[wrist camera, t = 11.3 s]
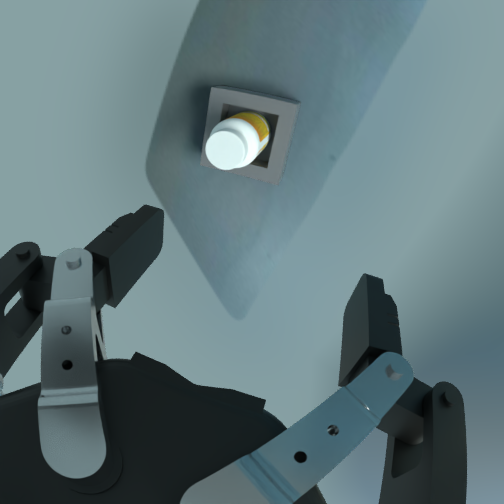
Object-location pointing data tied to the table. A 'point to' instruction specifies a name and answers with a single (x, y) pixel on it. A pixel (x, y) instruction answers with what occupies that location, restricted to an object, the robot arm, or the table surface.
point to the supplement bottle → (238, 140)
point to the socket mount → (277, 114)
